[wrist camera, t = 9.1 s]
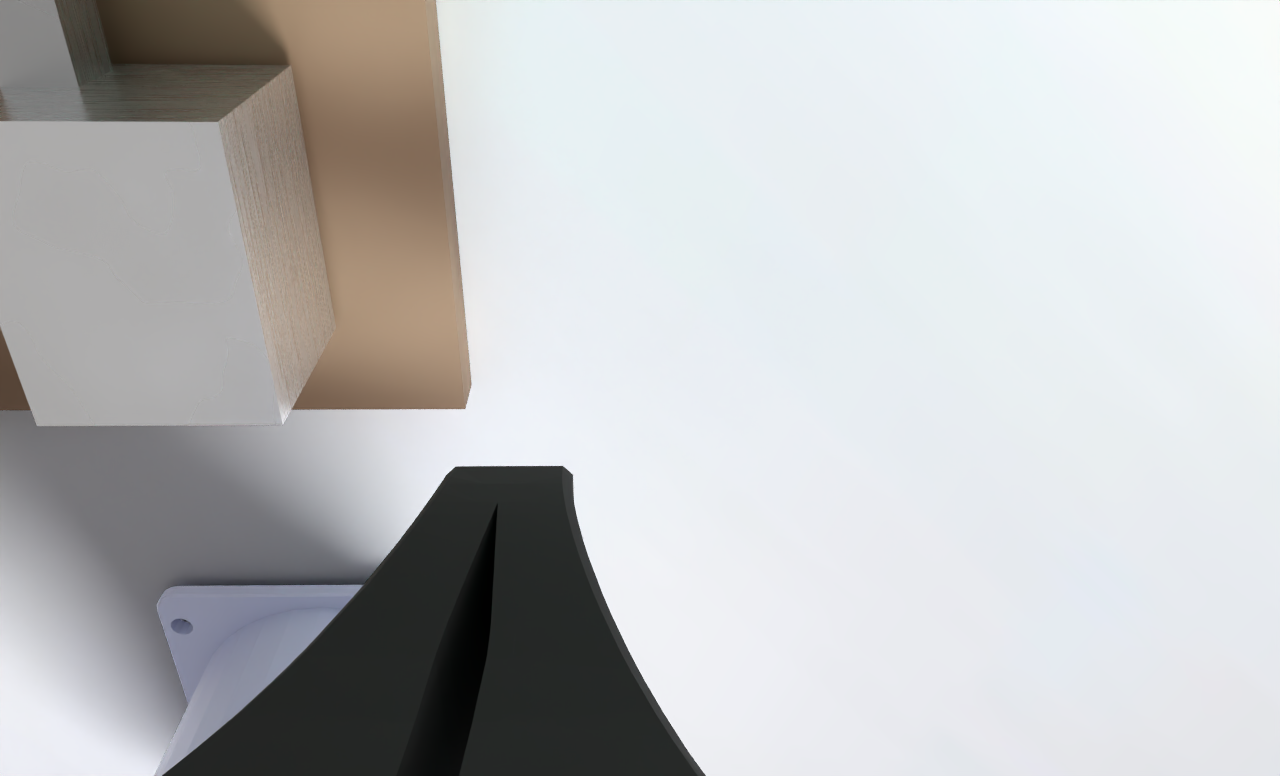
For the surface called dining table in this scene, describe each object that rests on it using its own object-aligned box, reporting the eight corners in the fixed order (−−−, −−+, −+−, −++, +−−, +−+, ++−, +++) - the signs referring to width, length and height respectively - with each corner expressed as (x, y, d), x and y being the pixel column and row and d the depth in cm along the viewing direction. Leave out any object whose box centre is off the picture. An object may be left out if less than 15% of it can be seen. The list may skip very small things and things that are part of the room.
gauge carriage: (335, 328, 19) (282, 425, 16) (129, 327, 19) (37, 426, 16) (244, -213, 14) (144, -220, 11) (-30, -216, 14) (-203, -223, 11)
